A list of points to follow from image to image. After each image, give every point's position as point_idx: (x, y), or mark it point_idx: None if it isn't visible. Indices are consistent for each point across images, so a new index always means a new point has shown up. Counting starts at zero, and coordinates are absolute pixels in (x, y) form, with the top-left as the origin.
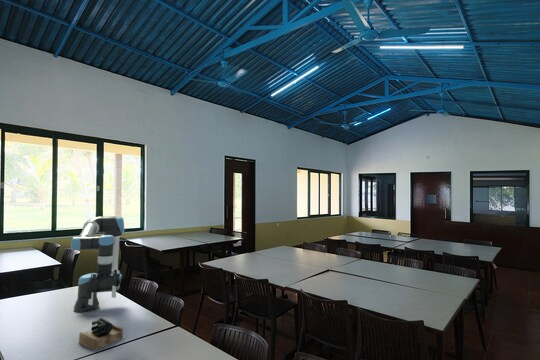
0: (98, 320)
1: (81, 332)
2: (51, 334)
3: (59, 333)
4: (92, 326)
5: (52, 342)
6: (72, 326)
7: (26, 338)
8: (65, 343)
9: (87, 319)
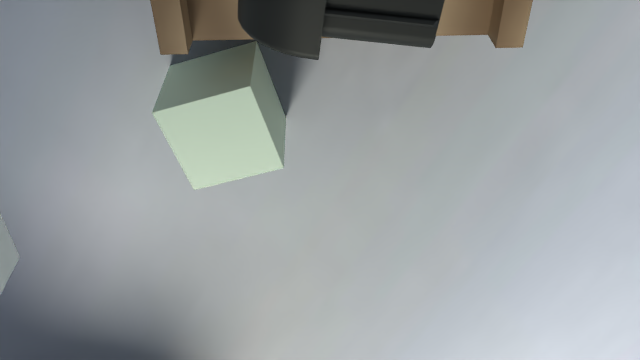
0: (355, 12)
1: (507, 39)
2: (475, 295)
3: (439, 274)
4: (283, 146)
5: (568, 185)
6: (317, 307)
7: (582, 340)
8: (544, 93)
9: (182, 334)
